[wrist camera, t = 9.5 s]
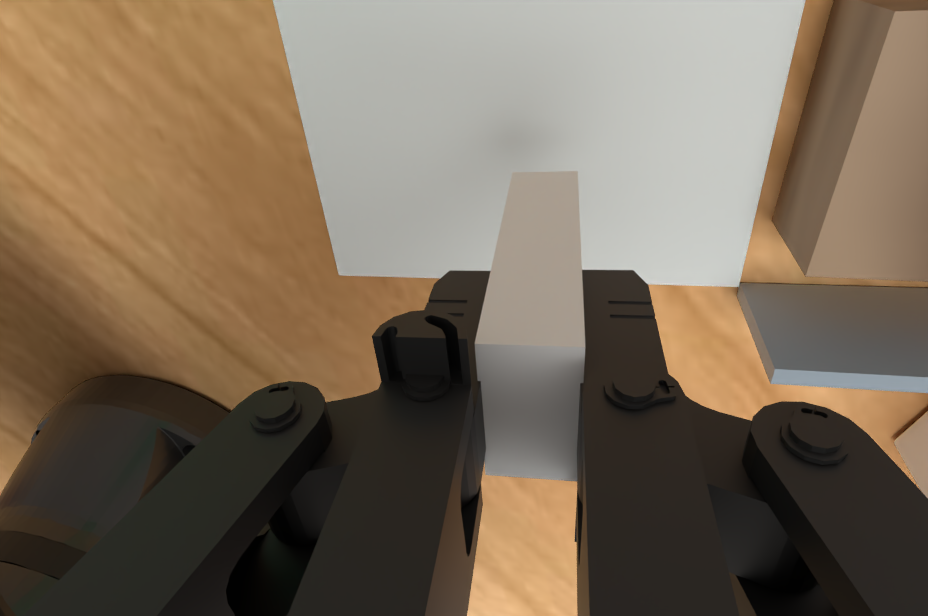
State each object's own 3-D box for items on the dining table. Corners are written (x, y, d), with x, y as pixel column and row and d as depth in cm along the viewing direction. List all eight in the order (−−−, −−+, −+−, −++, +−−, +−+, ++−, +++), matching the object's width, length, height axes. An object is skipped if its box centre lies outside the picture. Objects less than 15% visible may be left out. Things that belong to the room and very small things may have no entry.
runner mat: (341, 271, 24) (338, 275, 24) (263, -57, 18) (259, -57, 17) (736, 282, 21) (738, 286, 21) (827, -113, 14) (831, -113, 14)
